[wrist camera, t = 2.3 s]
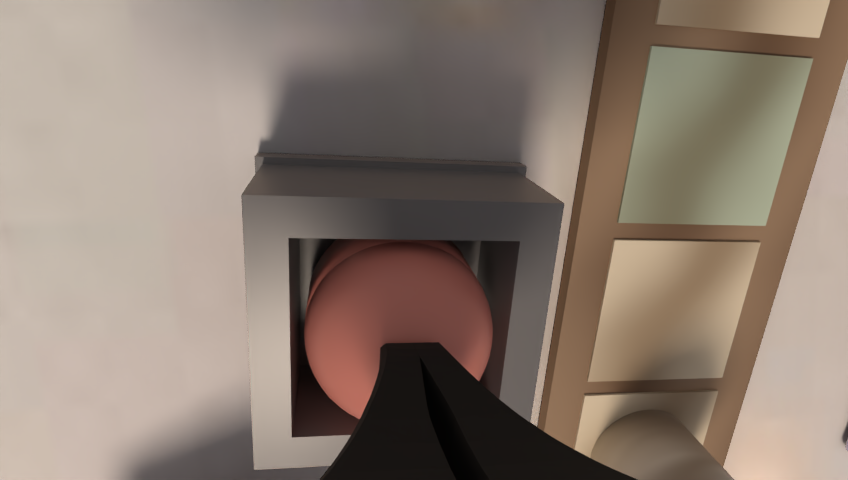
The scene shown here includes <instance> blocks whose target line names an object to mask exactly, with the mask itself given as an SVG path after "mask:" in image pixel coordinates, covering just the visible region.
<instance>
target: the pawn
mask: <svg viewBox="0 0 848 480" xmlns="http://www.w3.org/2000/svg"><path fill="white" fill-rule="evenodd" d="M590 458H591V459H593V460H595V461H597V462H599V463H602V464H604V465H606V466H608V467H610V468H612V469H614V470H617V471H619V472H621V473H624V474H626V475H628V476H631V477H633V478H635V479H638V480H734V479H733V478H732V477H731V476H730V475H729V474H728V472H727V471H726V470H725V469H724V468H723V467H722V466H721V465H720V464H719V463H718V462H717V461H716V459H715V458H714V457H713V456H712V455H711V454H710V453H709V452H708V451H707V450H706V449H705V447H704V446H703V445H702V444H701V443H700V442H699V441H698V440H697V439H696V438H695V437H694V436H693V434H692V433H691V432H690V431H689V430H688V429H687V428H686V427H685V426H684V425H683V424H682V423H681V421H680V420H679V419H678V418H676V417H675V416H674V415H672V414H670V413H668V412H665V411H661V410H641V411H636V412H633V413H630V414H628V415H626V416H623V417H622V418H620V419H618V420H617V421H615V422H614V423H612V424H611V425H610V426H609V427H608V428H606V429H605V431H604V432H603V433H602V434H601V435H600V437H599V438H598V439H597V441H596V443H595V445H594V447H593V449H592V452H591V457H590Z"/></svg>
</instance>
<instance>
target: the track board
mask: <svg viewBox="0 0 848 480" xmlns="http://www.w3.org/2000/svg"><path fill="white" fill-rule="evenodd" d="M847 59H848V0H607V1H606V7H605V13H604V19H603V26H602V32H601V38H600V44H599V50H598V56H597V63H596V69H595V75H594V81H593V87H592V94H591V100H590V106H589V112H588V118H587V124H586V131H585V137H584V143H583V149H582V155H581V161H580V168H579V174H578V180H577V186H576V192H575V199H574V205H573V211H572V217H571V223H570V229H569V236H568V242H567V248H566V254H565V260H564V266H563V273H562V279H561V285H560V291H559V297H558V304H557V310H556V316H555V322H554V328H553V334H552V341H551V347H550V353H549V359H548V365H547V371H546V378H545V384H544V390H543V396H542V402H541V408H540V415H539V421H538V428H539V429H541V430H542V431H544V432H545V433H547V434H548V435H550V436H552V437H553V438H555V439H557V440H558V441H560V442H562V443H563V444H565V445H567V446H569V447H571V448H573V449H574V450H576V451H578V452H580V453H582V454H584V455H586V456H587V457H589V458H590V457H591V452H592V449H593V447H594V445H595V443H596V441H597V439H598V438H599V437H600V435H601V434H602V433H603V432H604V431H605V429H606V428H608V427H609V426H610V425H611V424H612V423H614V422H615V421H617V420H618V419H620V418H622V417H623V416H626V415H628V414H630V413H633V412H636V411H641V410H661V411H665V412H668V413H670V414H672V415H674V416H675V417H676V418H678V419H679V420H680V421H681V423H682V424H683V425H684V426H685V427H686V428H687V429H688V430H689V431H690V432H691V433H692V434H693V436H694V437H695V438H696V439H697V440H698V441H699V442H700V443H701V444H702V445H703V446H704V447H705V449H706V450H707V451H708V452H709V453H710V454H711V455H712V456H713V457H714V458H715V459H716V461H717V462H718V463H719V464H720V465H721V466H722V467H723V465H724V462H725V459H726V456H727V452H728V449H729V446H730V443H731V439H732V436H733V433H734V429H735V426H736V423H737V420H738V416H739V413H740V410H741V406H742V403H743V400H744V397H745V393H746V390H747V387H748V384H749V380H750V377H751V374H752V370H753V367H754V364H755V361H756V357H757V354H758V351H759V348H760V344H761V341H762V338H763V334H764V331H765V328H766V325H767V321H768V318H769V315H770V312H771V308H772V305H773V302H774V298H775V295H776V292H777V289H778V285H779V282H780V279H781V275H782V272H783V269H784V266H785V262H786V259H787V256H788V253H789V249H790V246H791V243H792V239H793V236H794V233H795V230H796V226H797V223H798V220H799V217H800V213H801V210H802V207H803V203H804V200H805V197H806V194H807V190H808V187H809V184H810V181H811V177H812V174H813V171H814V167H815V164H816V161H817V158H818V154H819V151H820V148H821V145H822V141H823V138H824V135H825V131H826V128H827V125H828V122H829V118H830V115H831V112H832V108H833V105H834V102H835V99H836V95H837V92H838V89H839V86H840V82H841V79H842V76H843V72H844V69H845V66H846V63H847Z"/></svg>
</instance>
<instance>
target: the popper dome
mask: <svg viewBox="0 0 848 480" xmlns="http://www.w3.org/2000/svg"><path fill="white" fill-rule="evenodd" d="M492 337H493V325H492V316H491V311H490V306H489V302H488V300H487V297H486V295H485V293H484V290H483V288H482V286H481V284H480V283H479V281H478V279H477V278H476V276H475V274H474V273H473V271H472V269H471V268H470V266H469V264H468V263H467V261H466V259H465V258H464V256H463V254H462V253H461V251H460V250H459V249H458V247H457V246H456V245H455V244H454V243H453V242H452V241H451V240H395V239H337V240H336V241H334V242H333V243H332V244H331V245H330V246H329V247H328V249H327V250H326V251H325V252H324V254H323V255H322V256H321V258H320V259H319V261H318V263H317V265H316V267H315V269H314V271H313V274H312V277H311V281H310V285H309V292H308V300H307V308H306V315H305V327H304V339H305V349H306V353H307V357H308V361H309V364H310V367H311V369H312V372H313V374H314V376H315V378H316V379H317V381H318V383H319V384H320V386H321V388H322V389H323V390H324V392H325V393H326V394H327V395H328V397H329V398H330V399H331V400H332V401H334V402H335V403H336V404H337V405H338V406H339V407H340V408H341V409H343V410H344V411H346V412H347V413H349V414H350V415H352V416H354V417H356V418H358V419H360V418H361V416H362V414H363V411H364V409H365V407H366V405H367V403H368V400H369V398H370V396H371V393H372V391H373V388H374V385H375V382H376V379H377V376H378V372H379V364H380V348H381V347H382V346H383V345H384V344H385V343H424V342H439V343H440V344H441V345H442V346H443V347H444V348H445V349H446V350H447V351H448V352H449V353H450V354H451V355H452V356H453V357H454V358H455V359H456V360H457V361H458V362H459V363H460V364H461V365H462V366H463V367H464V368H465V369H466V370H467V371H468V372H469V373H470V374H471V375H472V376H474V377H475V378H476V379H477V380H478V381H479V380H480V379H481V376H482V374H483V372H484V370H485V368H486V366H487V363H488V360H489V357H490V352H491V347H492Z"/></svg>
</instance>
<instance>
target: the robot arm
mask: <svg viewBox="0 0 848 480" xmlns="http://www.w3.org/2000/svg"><path fill="white" fill-rule="evenodd" d="M845 447H846V450H847V451H848V439H847V441H846V446H845ZM320 480H638V479H635V478H633V477H631V476H628V475H626V474H624V473H621V472H619V471H617V470H614V469H612V468H610V467H608V466H606V465H604V464H602V463H599V462H597V461H595V460H593V459H591V458H589V457H587V456H586V455H584V454H582V453H580V452H578V451H576V450H574V449H573V448H571V447H569V446H567V445H565V444H563V443H562V442H560V441H558V440H557V439H555V438H553V437H552V436H550V435H548V434H547V433H545V432H544V431H542V430H541V429H539V428H538V427H536V426H535V425H533V424H532V423H530V422H529V421H527V420H526V419H524V418H523V417H522V416H520V415H519V414H517V413H516V412H515V411H514V410H512V409H511V408H510V407H509V406H507V405H506V404H505V403H504V402H502V401H501V400H500V399H498V398H497V397H496V396H495V395H494V394H493V393H491V392H490V391H489V390H488V389H487V388H486V387H484V386H483V385H482V384H481V383H480V382H479V381H478V380H477V379H476V378H475V377H474V376H472V375H471V374H470V373H469V372H468V371H467V370H466V369H465V368H464V367H463V366H462V365H461V364H460V363H459V362H458V361H457V360H456V359H455V358H454V357H453V356H452V355H451V354H450V353H449V352H448V351H447V350H446V349H445V348H444V347H443V346H442V345H441V344H440V343H439V342H424V343H385V344H384V345H383V346H382V347H381V348H380V364H379V372H378V376H377V379H376V382H375V385H374V388H373V391H372V393H371V396H370V398H369V400H368V403H367V405H366V407H365V409H364V411H363V414H362V416H361V418H360V420H359V422H358V424H357V425H356V427H355V429H354V431H353V433H352V434H351V436H350V438H349V439H348V441H347V443H346V444H345V446H344V447H343V449H342V450H341V452H340V453H339V454H338V456H337V457H336V459H335V460H334V462H333V463H332V464H331V466H330V467H329V468H328V470H327V471H326V472H325V474H324V475H323V476H322V477H321V478H320Z"/></svg>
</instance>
